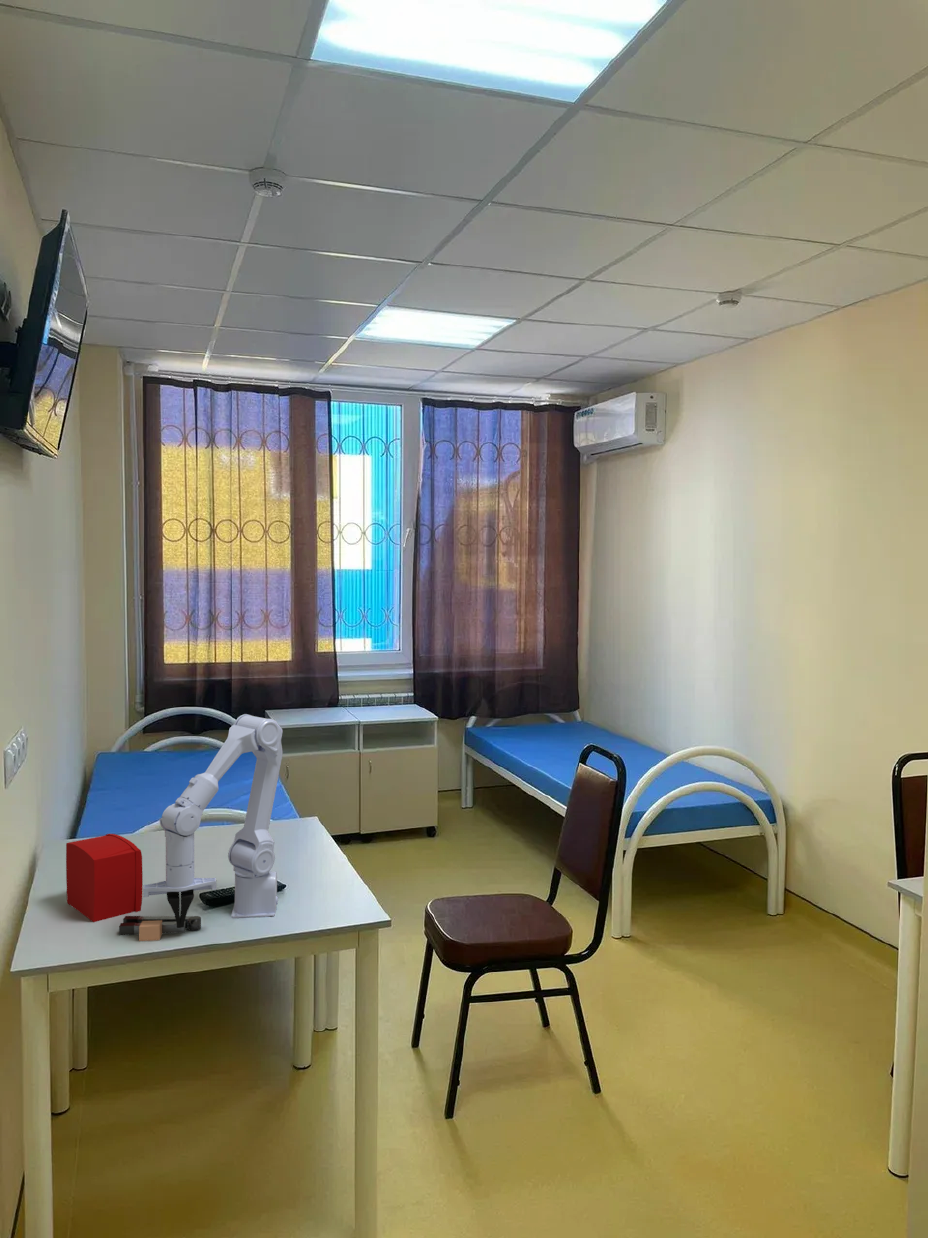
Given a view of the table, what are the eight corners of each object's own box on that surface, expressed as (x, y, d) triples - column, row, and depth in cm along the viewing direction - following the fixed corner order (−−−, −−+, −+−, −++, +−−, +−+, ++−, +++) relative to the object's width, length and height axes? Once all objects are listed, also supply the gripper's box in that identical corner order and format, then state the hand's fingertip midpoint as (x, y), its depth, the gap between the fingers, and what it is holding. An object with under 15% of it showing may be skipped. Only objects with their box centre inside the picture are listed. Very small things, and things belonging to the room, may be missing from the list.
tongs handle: (185, 930, 189) (185, 920, 189) (184, 933, 187) (184, 923, 187) (120, 932, 187) (120, 923, 187) (119, 936, 185) (119, 926, 185)
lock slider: (162, 934, 186) (162, 920, 186) (159, 940, 183) (159, 926, 183) (142, 935, 186) (142, 921, 186) (139, 941, 183) (139, 926, 183)
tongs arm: (202, 925, 191) (202, 915, 191) (199, 931, 188) (199, 920, 188) (125, 925, 190) (125, 915, 190) (121, 931, 187) (121, 921, 187)
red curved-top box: (143, 911, 199) (143, 845, 198) (94, 924, 192) (94, 856, 191) (112, 891, 211) (112, 829, 210) (66, 903, 203) (65, 838, 202)
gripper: (214, 853, 192) (214, 914, 192) (143, 859, 187) (143, 922, 188) (217, 863, 185) (217, 927, 186) (143, 870, 180) (143, 936, 181)
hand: (180, 926), depth 186 cm, fingers closed
